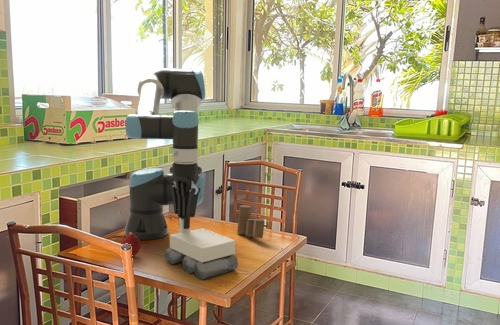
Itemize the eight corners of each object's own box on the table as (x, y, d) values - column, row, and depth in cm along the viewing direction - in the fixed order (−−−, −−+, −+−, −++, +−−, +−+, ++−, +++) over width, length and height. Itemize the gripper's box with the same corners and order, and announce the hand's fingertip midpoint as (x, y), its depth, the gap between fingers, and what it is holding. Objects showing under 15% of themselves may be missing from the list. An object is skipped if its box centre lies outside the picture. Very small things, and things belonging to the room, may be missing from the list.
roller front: (180, 264, 140) (185, 252, 138) (213, 255, 148) (218, 244, 146) (189, 277, 137) (194, 265, 135) (221, 267, 146) (227, 256, 143)
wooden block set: (267, 243, 168) (270, 214, 167) (243, 242, 166) (246, 212, 165) (255, 229, 185) (258, 203, 184) (233, 228, 183) (236, 201, 182)
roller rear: (164, 261, 147) (165, 245, 146) (196, 253, 155) (197, 238, 154) (174, 266, 143) (174, 250, 142) (206, 258, 151) (206, 243, 150)
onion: (133, 252, 153) (133, 228, 152) (144, 257, 150) (144, 232, 149) (117, 257, 149) (117, 232, 148) (129, 261, 145) (129, 236, 144)
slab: (169, 247, 144) (169, 234, 143) (201, 240, 152) (202, 227, 151) (202, 262, 132) (202, 248, 132) (235, 253, 140) (235, 240, 140)
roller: (205, 280, 132) (195, 278, 135) (238, 270, 140) (227, 269, 143) (203, 262, 132) (193, 261, 135) (237, 253, 140) (226, 252, 143)
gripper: (162, 160, 147) (162, 235, 150) (187, 165, 138) (186, 245, 141) (183, 158, 152) (182, 231, 155) (208, 164, 143) (206, 241, 146)
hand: (184, 238), depth 148 cm, fingers closed
